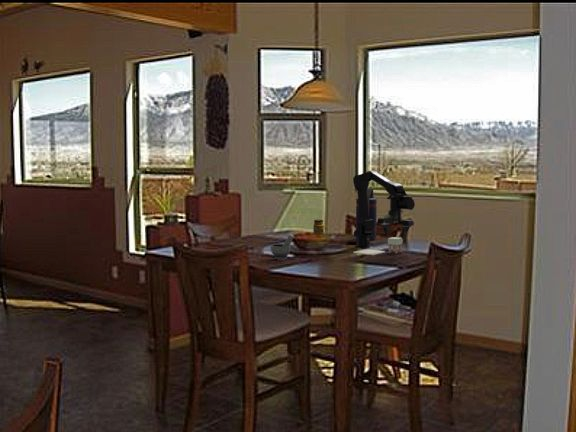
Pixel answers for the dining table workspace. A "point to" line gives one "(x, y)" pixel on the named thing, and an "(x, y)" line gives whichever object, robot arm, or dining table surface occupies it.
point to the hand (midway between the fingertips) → (395, 238)
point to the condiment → (318, 227)
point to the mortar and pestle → (282, 249)
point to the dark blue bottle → (371, 209)
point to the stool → (395, 244)
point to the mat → (369, 252)
